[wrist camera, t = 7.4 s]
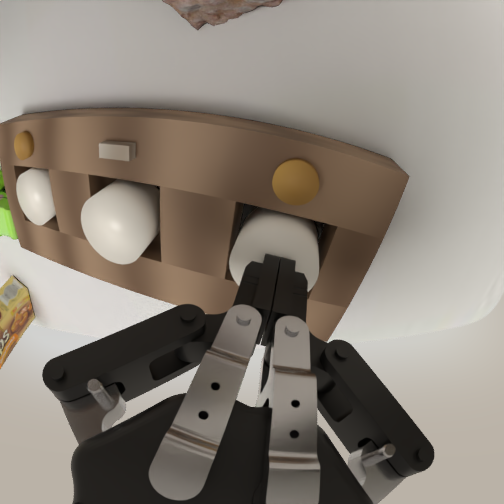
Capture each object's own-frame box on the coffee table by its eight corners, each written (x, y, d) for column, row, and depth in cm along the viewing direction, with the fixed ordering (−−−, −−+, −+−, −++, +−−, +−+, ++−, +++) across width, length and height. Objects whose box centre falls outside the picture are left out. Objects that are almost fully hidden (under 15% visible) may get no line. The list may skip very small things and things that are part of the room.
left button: (45, 203, 19) (23, 220, 16) (38, 157, 16) (12, 171, 14) (77, 211, 18) (53, 230, 16) (70, 159, 16) (42, 175, 13)
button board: (39, 230, 21) (17, 250, 18) (22, 114, 14) (-9, 127, 11) (326, 310, 20) (327, 348, 17) (391, 158, 13) (413, 180, 10)
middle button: (112, 229, 17) (87, 254, 15) (106, 170, 15) (76, 189, 12) (167, 243, 17) (145, 272, 15) (167, 180, 14) (140, 202, 12)
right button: (236, 258, 17) (224, 290, 15) (248, 193, 14) (235, 219, 12) (305, 274, 17) (304, 309, 14) (327, 213, 14) (331, 243, 12)
